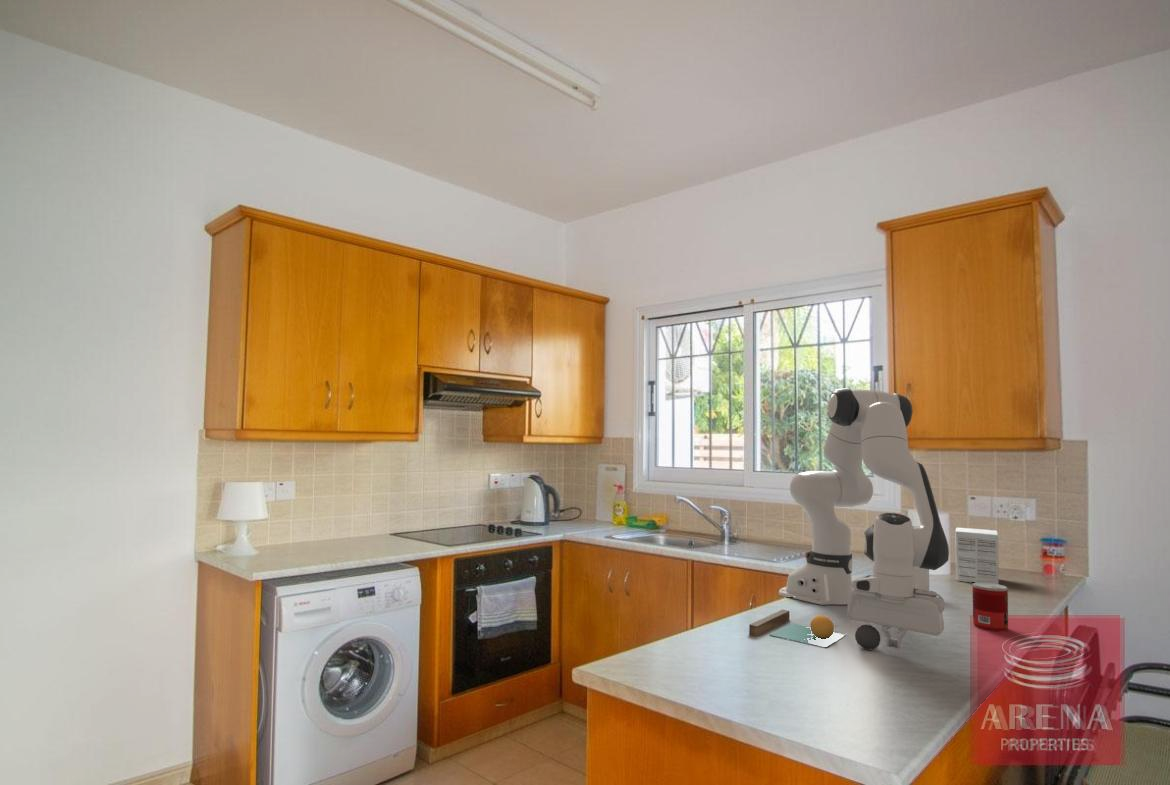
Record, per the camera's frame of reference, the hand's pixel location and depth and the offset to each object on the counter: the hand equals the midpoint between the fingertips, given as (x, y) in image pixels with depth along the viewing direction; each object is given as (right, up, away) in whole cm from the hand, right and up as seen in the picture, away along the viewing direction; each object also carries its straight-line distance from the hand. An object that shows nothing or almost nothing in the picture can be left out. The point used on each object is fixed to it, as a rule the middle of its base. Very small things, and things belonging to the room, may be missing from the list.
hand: (894, 646), depth 153 cm
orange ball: (-13, +1, +11) cm, 17 cm away
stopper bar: (-23, -2, +19) cm, 30 cm away
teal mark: (-15, -2, +13) cm, 20 cm away
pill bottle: (+33, -6, +58) cm, 67 cm away
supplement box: (+69, -9, +85) cm, 110 cm away
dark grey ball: (-5, +1, +3) cm, 6 cm away
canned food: (+37, -4, +24) cm, 44 cm away
